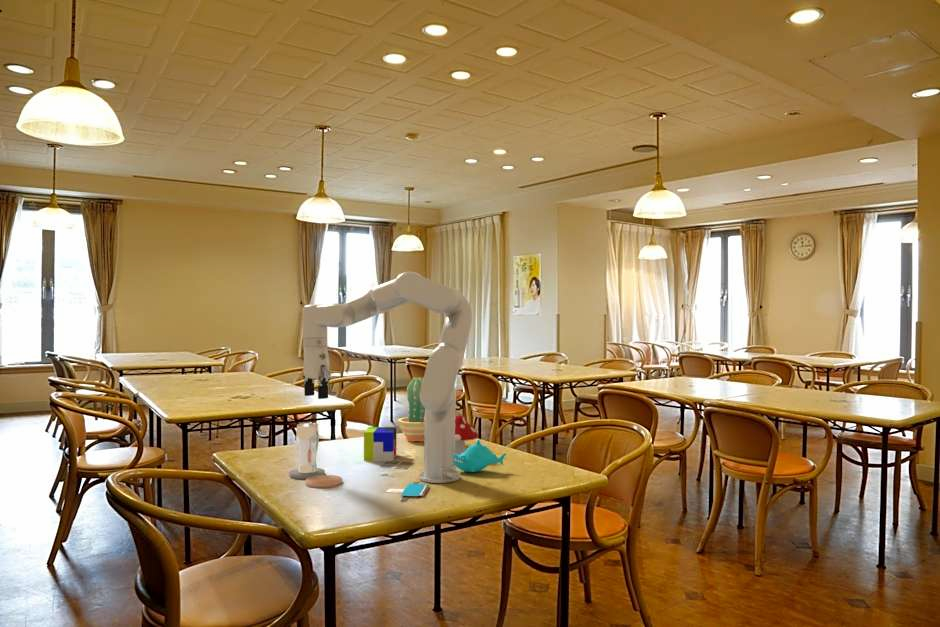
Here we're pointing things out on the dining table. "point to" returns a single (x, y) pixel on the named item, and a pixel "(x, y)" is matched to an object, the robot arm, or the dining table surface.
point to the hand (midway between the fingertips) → (316, 396)
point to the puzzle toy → (380, 444)
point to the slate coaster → (296, 475)
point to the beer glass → (307, 447)
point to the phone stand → (410, 490)
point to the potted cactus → (414, 413)
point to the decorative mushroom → (463, 434)
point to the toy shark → (476, 458)
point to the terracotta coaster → (323, 481)
